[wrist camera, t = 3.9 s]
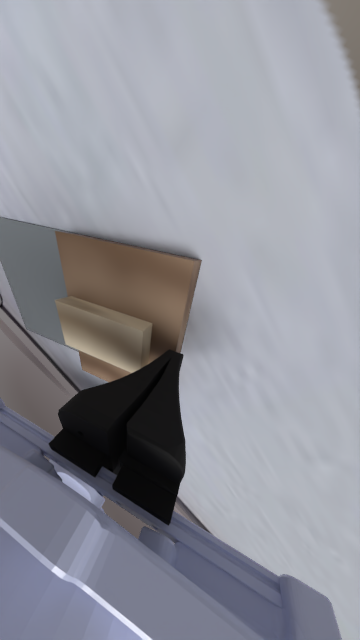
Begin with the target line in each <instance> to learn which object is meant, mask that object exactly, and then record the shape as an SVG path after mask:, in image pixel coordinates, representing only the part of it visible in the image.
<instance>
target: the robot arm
mask: <svg viewBox="0 0 360 640" xmlns="http://www.w3.org/2000/svg"><path fill="white" fill-rule="evenodd" d="M182 359H183V354H181V353H178V352H175V351H173V350H170V349H169V350H167V351H166V352H165V353H163V354H162V355H161V356H159V357H158V358H156V359H155V360H154V361H152V362H151V363H149V364H147V365H146V366H144V367H142V368H141V369H139V370H137V371H135V372H133V373H131V374H129V375H126V376H124V377H122V378H119V379H117V380H114V381H111V382H109V383H106V384H103V385H100V386H96V387H92V388H89V389H85V390H82V391H80V392H79V393H78V394H77V395H75V396H74V397H73V398H72V399H71V400H70V401H68V403H66V404H65V405H64V406H63V407H62V408H61V409H59V413H58V416H59V419H60V421H61V424H62V427H63V429H62V430H61V431H60V432H59V434H57V435H56V436H55V437H54V436H53V435H51V434H49V433H48V432H46V431H45V430H43V429H42V428H40V427H39V426H37V425H35V424H34V423H32V422H30V421H29V420H27V419H26V418H24V417H23V416H21V415H19V414H18V413H16V412H14V411H13V410H11V409H10V408H8V407H6V406H5V403H4V402H3V400H2V399H1V398H0V640H342V638H341V634H340V631H339V628H338V624H337V621H336V617H335V614H334V610H333V607H332V604H331V602H330V601H329V599H328V598H327V597H326V596H324V595H322V594H321V593H319V592H318V591H316V590H314V589H313V588H311V587H309V586H308V585H306V584H304V583H303V582H301V581H300V580H298V579H296V578H294V577H292V576H289V575H285V574H283V575H280V576H277V575H276V574H274V573H272V572H271V571H269V570H268V569H266V568H264V567H263V566H261V565H260V564H258V563H256V562H255V561H253V560H252V559H250V558H248V557H247V556H245V555H244V554H242V553H240V552H239V551H237V550H236V549H234V548H232V547H231V546H229V545H228V544H226V543H224V542H223V541H221V540H220V539H218V538H216V537H215V536H213V535H212V534H210V533H208V532H207V531H205V530H204V529H202V528H200V527H199V526H197V525H196V524H194V523H192V522H191V521H189V520H188V519H186V518H184V517H183V516H181V515H180V514H178V513H176V512H175V511H173V510H174V505H175V501H176V497H177V494H178V490H179V486H180V482H181V481H182V479H183V477H184V474H185V466H186V452H185V437H184V432H183V426H182V420H181V412H180V403H179V371H180V367H181V363H182ZM44 455H45V456H46V457H48V458H49V459H50V460H49V461H48V460H47V459H46V458H45V457H44ZM103 495H104V496H106V497H107V498H109V499H110V500H111V501H113V502H114V503H116V504H118V505H119V506H120V507H122V508H124V509H125V510H127V511H128V512H129V513H131V514H132V515H134V516H136V517H137V518H138V519H140V520H141V521H143V522H144V523H146V524H147V525H149V526H151V527H152V528H153V529H155V530H156V531H157V532H156V531H154V530H152V529H149V528H147V527H143V528H142V530H141V533H140V536H139V539H137V538H136V537H134V536H133V535H132V534H131V533H129V532H128V531H127V530H126V529H124V528H123V527H122V526H120V525H119V524H118V523H117V522H115V521H114V520H113V519H112V518H110V517H109V516H108V515H107V514H105V513H104V510H103V509H102V508H101V507H102V505H103V503H104V501H105V499H104V498H103ZM158 532H159V533H158ZM173 542H174V543H175V544H174V543H173Z"/></svg>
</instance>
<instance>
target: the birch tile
mask: <svg viewBox="0 0 360 640" xmlns="http://www.w3.org/2000/svg"><path fill="white" fill-rule="evenodd" d="M55 303H56V307H57V311H58V315H59V319H60V323H61V327H62V331H63V336H64V340H65V344H66V345H68V346H70V347H73V348H75V349H77V350H80V351H82V352H84V353H87V354H89V355H91V356H94V357H96V358H98V359H101V360H103V361H105V362H107V363H110V364H112V365H114V366H117V367H119V368H121V369H124V370H126V371H128V372H131V373H133V372H135V371H137V370H139V369H141V368H142V367H144V366H146V365H147V364H148V363H149V353H150V343H151V333H152V323H150V322H147V321H144V320H141V319H138V318H135V317H132V316H129V315H126V314H123V313H120V312H117V311H114V310H111V309H108V308H105V307H102V306H99V305H96V304H93V303H90V302H87V301H84V300H81V299H78V298H75V297H72V296H70V297H66V298H62V299H57V300H55Z"/></svg>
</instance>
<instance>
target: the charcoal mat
mask: <svg viewBox="0 0 360 640" xmlns="http://www.w3.org/2000/svg"><path fill="white" fill-rule="evenodd" d="M55 231H60V232H67V231H62V230H57V229H53V228H48V227H43V226H39V225H34V224H29V223H25V222H20V221H15V220H11V219H6V218H1V217H0V261H1V264H2V266H3V269H4V271H5V274H6V277H7V279H8V282H9V285H10V287H11V290H12V292H13V295H14V298H15V300H16V303H17V305H18V308H19V311H20V313H21V316H22V319H23V321H24V324H25V326H26V329H27V330H30V331H32V332H34V333H37V334H39V335H41V336H43V337H46V338H48V339H50V340H53V341H55V342H57V343H59V344H62V345H64V346H66V347H69V348H71V349H73V350H76V351H78V350H77V349H75V348H73V347H70V346H68V345H66V344H65V340H64V336H63V331H62V327H61V323H60V319H59V315H58V311H57V307H56V303H55V300H57V299H62V298H66V297H68V295H67V290H66V285H65V280H64V275H63V270H62V265H61V260H60V255H59V250H58V245H57V240H56V235H55ZM67 233H71V232H67ZM73 234H76V233H73ZM78 352H79V351H78Z"/></svg>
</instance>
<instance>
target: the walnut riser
mask: <svg viewBox="0 0 360 640" xmlns="http://www.w3.org/2000/svg"><path fill="white" fill-rule="evenodd" d="M55 235H56V240H57V245H58V250H59V255H60V260H61V265H62V270H63V275H64V280H65V285H66V290H67V295H68V297H70V296H72V297H75V298H78V299H81V300H84V301H87V302H90V303H93V304H96V305H99V306H102V307H105V308H108V309H111V310H114V311H117V312H120V313H123V314H126V315H129V316H132V317H135V318H138V319H141V320H144V321H147V322H150V323H152V333H151V343H150V353H149V363H151V362H152V361H154V360H155V359H156V358H158V357H159V356H161V355H162V354H163V353H165V352H166V351H167V350H169V349H170V350H173V351H175V352H178V353H180V352H181V348H182V344H183V339H184V335H185V330H186V326H187V322H188V317H189V313H190V309H191V304H192V300H193V296H194V291H195V287H196V283H197V278H198V274H199V270H200V265H201V261H202V260H197V259H193V258H188V257H183V256H179V255H174V254H169V253H165V252H160V251H155V250H151V249H146V248H141V247H137V246H132V245H127V244H123V243H118V242H113V241H109V240H104V239H99V238H95V237H90V236H85V235H80V234H73V233H67V232H60V231H55ZM78 351H79V356H80V361H81V366H82V370H84V371H86V372H88V373H90V374H92V375H95V376H97V377H99V378H101V379H103V380H105V381H107V382H111V381H114V380H117V379H119V378H122V377H124V376H126V375H129V374H131V372H128V371H126V370H124V369H121V368H119V367H117V366H114V365H112V364H110V363H107V362H105V361H103V360H101V359H98V358H96V357H94V356H91V355H89V354H87V353H84V352H82V351H80V350H78ZM149 363H148V364H149Z"/></svg>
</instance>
